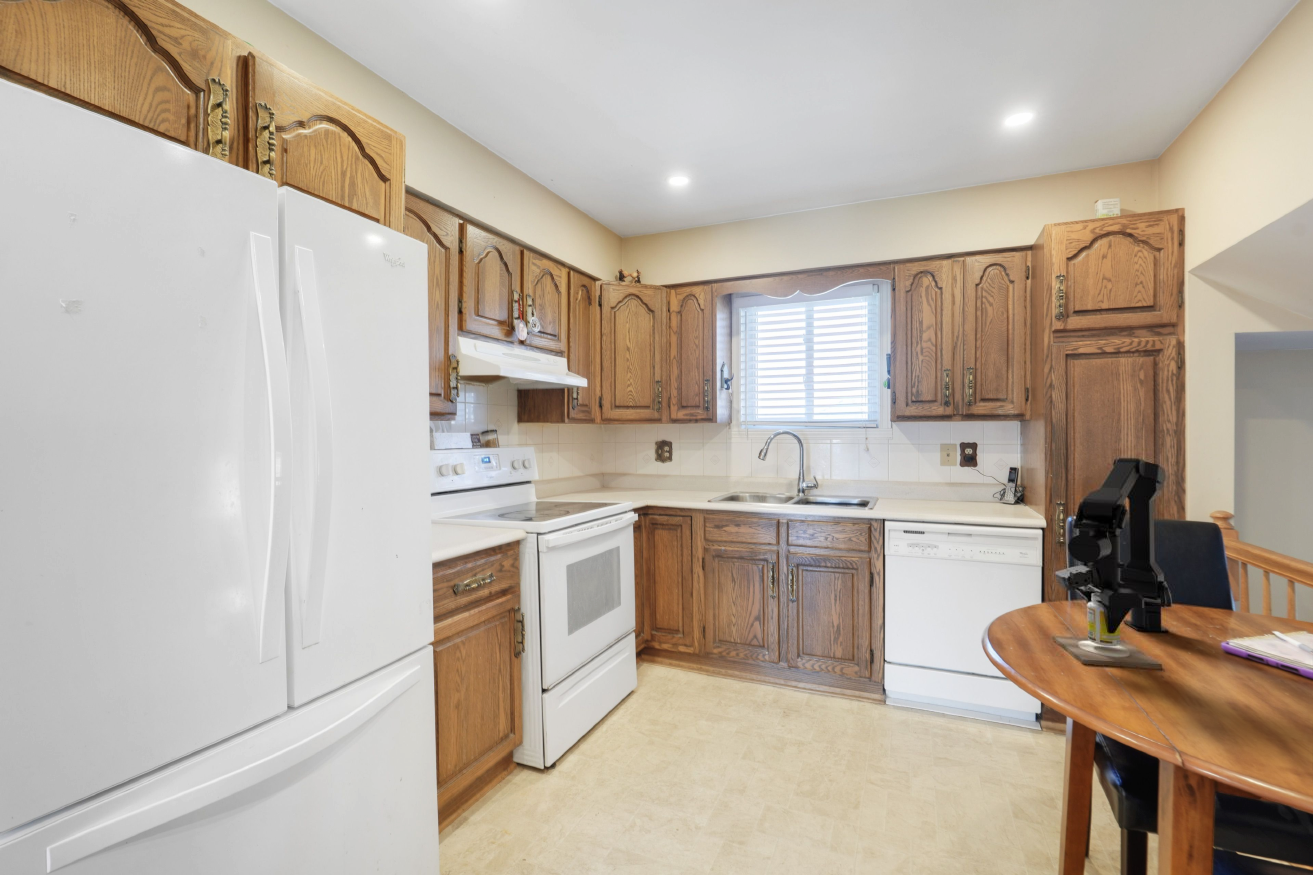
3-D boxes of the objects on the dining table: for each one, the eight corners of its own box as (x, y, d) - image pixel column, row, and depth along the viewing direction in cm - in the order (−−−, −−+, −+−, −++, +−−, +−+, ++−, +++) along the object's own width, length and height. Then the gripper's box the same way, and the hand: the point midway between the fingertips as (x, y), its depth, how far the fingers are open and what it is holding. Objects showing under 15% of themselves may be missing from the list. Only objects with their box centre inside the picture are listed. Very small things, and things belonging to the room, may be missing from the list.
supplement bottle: (1125, 644, 124) (1125, 596, 124) (1111, 649, 122) (1110, 600, 121) (1096, 636, 129) (1096, 590, 129) (1081, 640, 127) (1081, 593, 127)
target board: (1052, 640, 134) (1052, 634, 134) (1123, 643, 131) (1123, 638, 131) (1082, 663, 120) (1082, 658, 120) (1161, 669, 117) (1161, 663, 117)
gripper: (1042, 546, 136) (1043, 613, 136) (1081, 564, 118) (1082, 641, 118) (1096, 547, 133) (1097, 615, 134) (1145, 566, 115) (1146, 645, 116)
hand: (1103, 628), depth 125 cm, fingers closed on supplement bottle, 6 cm apart
